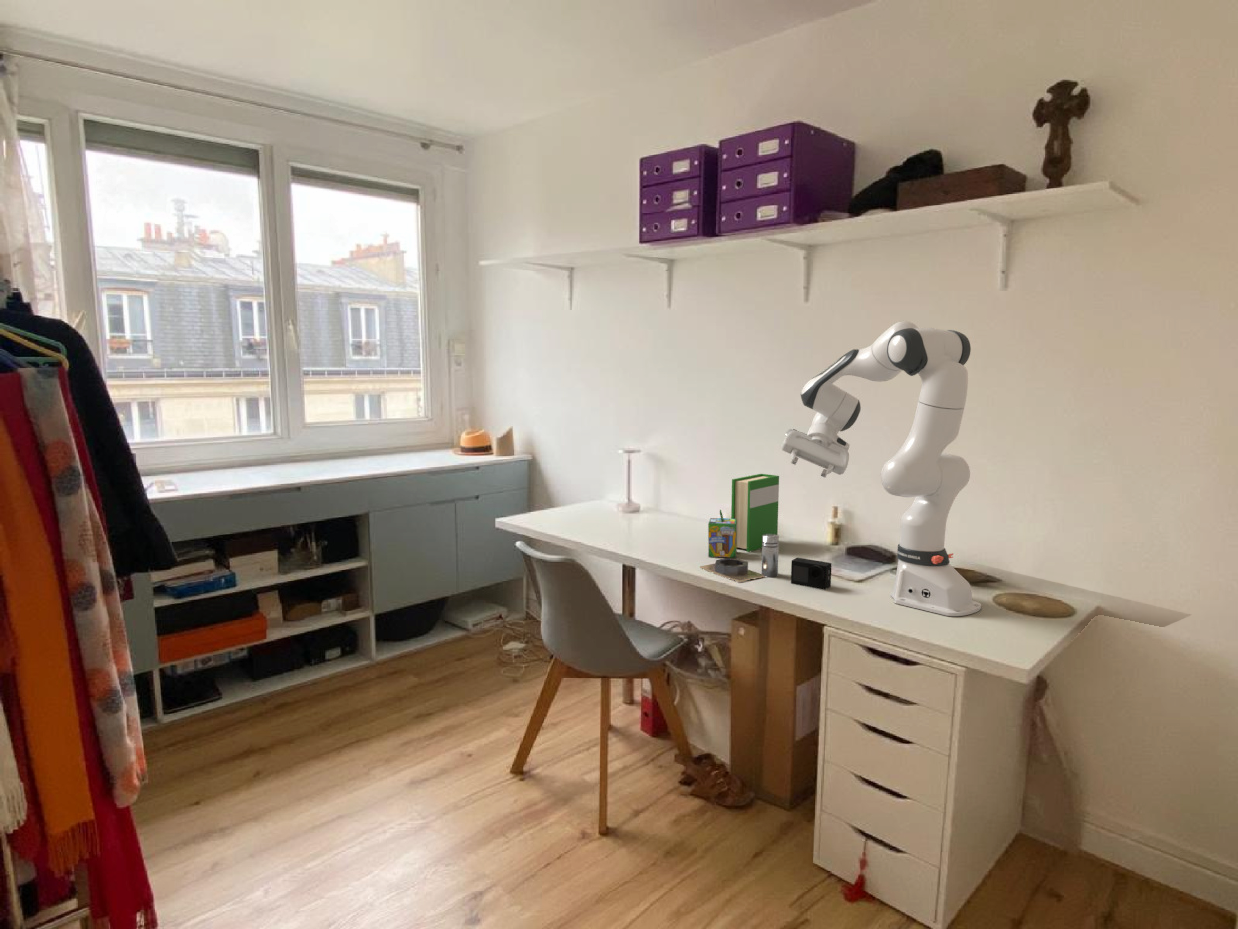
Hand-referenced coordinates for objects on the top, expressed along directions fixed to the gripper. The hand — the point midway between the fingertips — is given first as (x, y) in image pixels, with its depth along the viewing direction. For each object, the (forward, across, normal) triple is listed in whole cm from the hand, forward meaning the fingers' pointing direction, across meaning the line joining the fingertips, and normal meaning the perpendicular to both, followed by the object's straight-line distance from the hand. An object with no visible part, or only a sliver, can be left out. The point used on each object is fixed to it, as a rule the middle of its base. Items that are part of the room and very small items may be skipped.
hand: (808, 469), depth 218 cm
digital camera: (+28, +13, +16) cm, 35 cm away
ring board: (+27, -8, +27) cm, 39 cm away
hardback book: (-3, -4, +46) cm, 47 cm away
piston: (+24, +2, +24) cm, 34 cm away
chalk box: (+11, -13, +41) cm, 44 cm away
